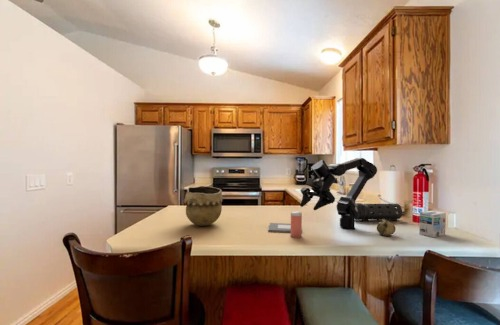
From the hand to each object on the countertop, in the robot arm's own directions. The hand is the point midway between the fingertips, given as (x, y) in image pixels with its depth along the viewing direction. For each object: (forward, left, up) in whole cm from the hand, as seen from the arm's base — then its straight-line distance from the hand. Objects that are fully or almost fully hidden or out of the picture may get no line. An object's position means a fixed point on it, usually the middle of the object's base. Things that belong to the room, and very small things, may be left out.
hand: (307, 208), depth 125 cm
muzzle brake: (-42, -36, -13) cm, 57 cm away
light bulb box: (-60, -10, -13) cm, 62 cm away
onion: (-37, -5, -13) cm, 40 cm away
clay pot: (+53, -8, -13) cm, 55 cm away
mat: (+10, -9, -12) cm, 18 cm away
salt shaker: (+5, +4, -12) cm, 14 cm away
